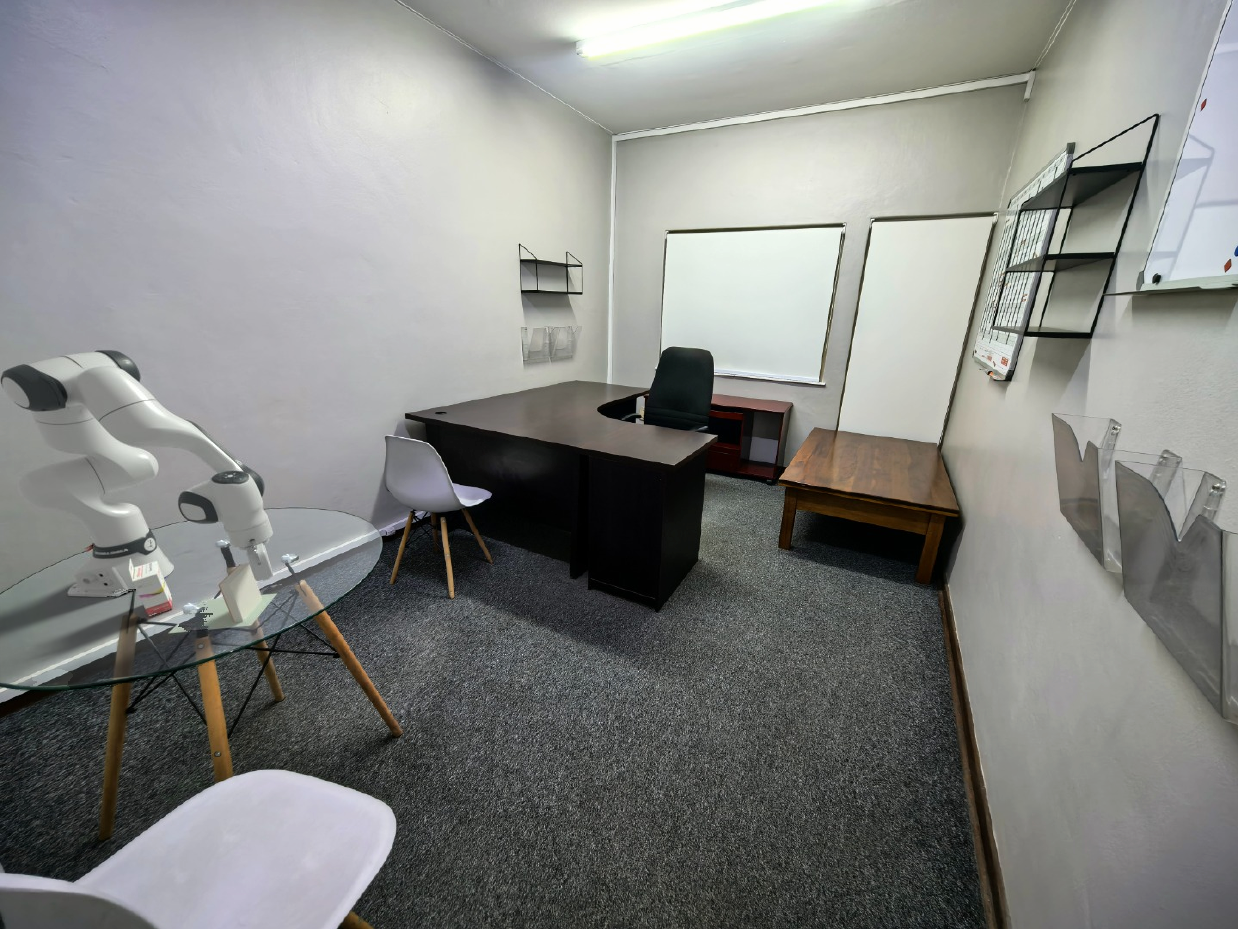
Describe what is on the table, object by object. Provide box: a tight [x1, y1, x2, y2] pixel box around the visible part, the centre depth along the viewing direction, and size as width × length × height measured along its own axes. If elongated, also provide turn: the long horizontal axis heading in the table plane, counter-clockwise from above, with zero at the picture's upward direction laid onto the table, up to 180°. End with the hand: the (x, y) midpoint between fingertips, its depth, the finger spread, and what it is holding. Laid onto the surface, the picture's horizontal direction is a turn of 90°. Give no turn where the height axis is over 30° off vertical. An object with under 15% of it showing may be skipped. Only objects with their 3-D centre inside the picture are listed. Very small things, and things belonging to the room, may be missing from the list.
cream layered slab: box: [218, 563, 262, 622], centre depth 121 cm, size 2×9×12 cm, turn 9°
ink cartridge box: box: [129, 559, 173, 616], centre depth 122 cm, size 9×5×15 cm, turn 45°
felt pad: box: [168, 593, 278, 634], centre depth 122 cm, size 19×13×1 cm
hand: (266, 577), depth 120 cm, fingers closed
